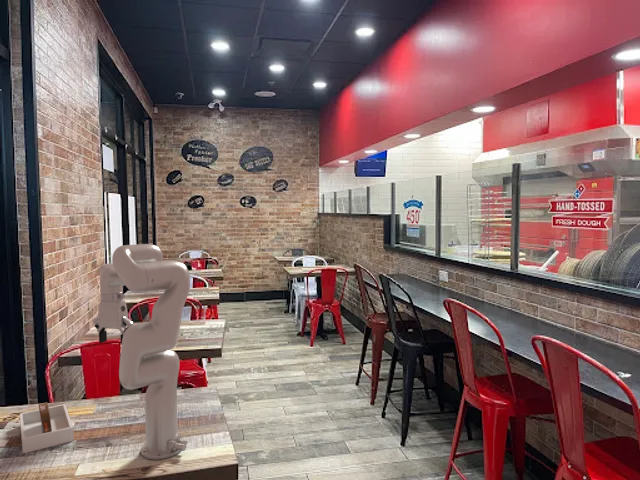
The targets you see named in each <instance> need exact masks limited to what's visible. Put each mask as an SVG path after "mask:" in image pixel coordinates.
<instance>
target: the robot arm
mask: <svg viewBox="0 0 640 480" xmlns="http://www.w3.org/2000/svg"><path fill="white" fill-rule="evenodd" d="M111 258H112V259H111V262H110V263H103V264H102V265H100V266H99V288H100V293H99V294H100V301H99V305H98V316H97V317H95V318H93V319H92V322H93V325H94V328H95V329H96V332H97V333H98V343H99V344H102V343H105V342H107V341H108V335H107V334H108V333H107V329H111V330H112V329H113V330H118V331H119V332H120V333H121V334H120V336H119V337H120V345H121V348H120V355H119V356H120V358H119V367H118V368H119V369H118V373H119V374H118V377H119V382H120V384H121V386H122V387H123V388H124V389H126V390H135V389H140V388H143V387H147V389H146V391H145V395H144V415H145V418H144V419H145V421H144V422H145V443H144V444H142V446H141V448H140V454H141V456H142V457H143V458H145V459H148V460H156V461H158V460H163V459H164V460H165V459H168V458H171V457H174V456H176V455H178V454H179V453H181V451H182V452H185V450H186V449H187V444H188V441H187V440H186V439H185V440H184V439H182V435H181V433H179V427H178V426H179V424H178V423H179V422H178V418H179V417H178V379H179V378H178V377H179V372H180V358H179V355H178V353H176V352H175V351H174V348H175V347H176V345H177V344H178V340H179V335H180V329H181V323H182V316H183V310H184V307H185V303H186V301H187V299H188V296H189V293H190V292H189V291H190V287H191V277H190V271H189V269H188V267H187V265H186V264H185V263H183V262H181V261H176V260H163V259H164V256H163V251H162V250H161V248H160V247H159V246H157V245H155V244H151V243H141V244H139V243H138V244H125V245H120V246H118V247H117V248H115V250H114V251H113V254H112V257H111ZM124 286H125V287H126V288H127V289H128V290H129V291H130V292H132V293H134V294H142V293H148V292H157V291H164V292H163V293H162V294H161V295H160V296H159V297H158V298H157V300H156V301H155V303H154V304H153V306H152V310H151V317H150V320H148V321H147V322H143V323H142V322H141V323H137V324H134V321H132V320H131V319H129V313H128V306H127V303H126V300H125V294H124V291H123V290H124Z"/></svg>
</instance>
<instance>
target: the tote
mask: <svg viewBox="0 0 640 480" xmlns="http://www.w3.org/2000/svg"><path fill="white" fill-rule="evenodd" d="M48 409H49V414H50V420H51V428H52V431H51V432H47V433H42V426H41V419H40V411H39V409H35V410H31V411H25V412H21V413H19V424H20V437H21V447H22V448H21V449H22V454H27V453H30V452H31V453H32V452H34V451H38V450H43V449H47V448H50V447H54V446H59V445H62V444H66V443H70V442H74V441H75V440H74V426H73V423H72V420H71V418H70V414H69V410H68V408H67V405H66V404H65V403H63V404H58V405H53V406H48Z"/></svg>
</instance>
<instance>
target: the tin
mask: <svg viewBox="0 0 640 480" xmlns="http://www.w3.org/2000/svg"><path fill="white" fill-rule="evenodd" d="M48 407H49V405H48V402H47V401H46V402H43V403H40V404H38V410H39V411H40V419H41V426H42V433H47V432H51V431H52V428H51V420H50V414H49V409H48Z"/></svg>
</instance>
